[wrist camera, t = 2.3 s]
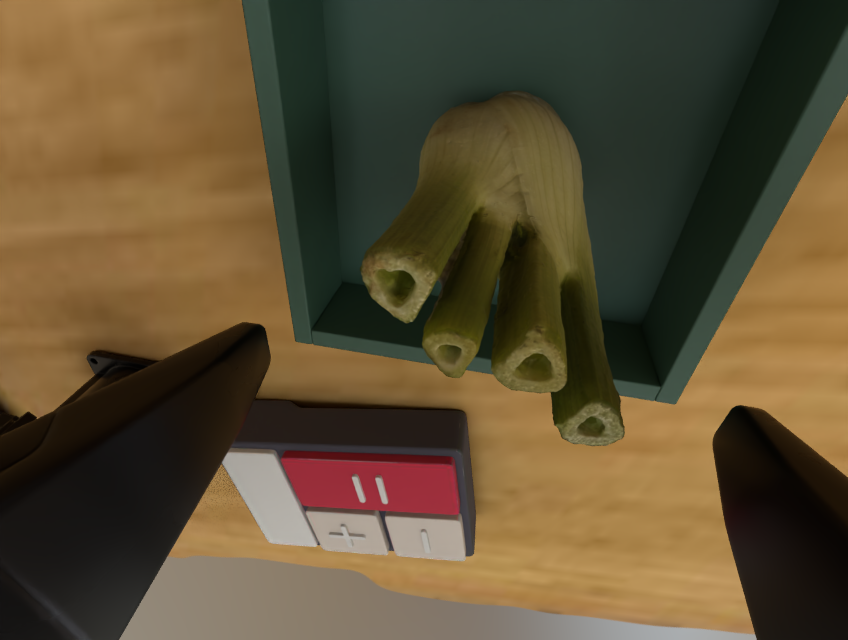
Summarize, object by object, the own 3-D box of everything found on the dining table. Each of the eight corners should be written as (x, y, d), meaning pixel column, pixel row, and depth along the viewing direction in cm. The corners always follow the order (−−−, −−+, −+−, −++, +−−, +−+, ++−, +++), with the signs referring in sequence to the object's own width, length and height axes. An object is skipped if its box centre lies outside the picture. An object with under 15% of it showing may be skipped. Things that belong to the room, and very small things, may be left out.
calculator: (474, 569, 29) (262, 552, 32) (476, 509, 33) (285, 498, 35) (462, 462, 23) (200, 452, 26) (466, 401, 26) (236, 398, 29)
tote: (330, 288, 23) (294, 342, 19) (296, -105, 14) (219, -137, 11) (651, 336, 21) (676, 405, 17) (840, -84, 12) (966, -116, 9)
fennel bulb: (594, 205, 17) (673, 460, 8) (477, 247, 19) (428, 492, 10) (547, 50, 15) (580, 150, 5) (417, 116, 17) (271, 278, 7)
